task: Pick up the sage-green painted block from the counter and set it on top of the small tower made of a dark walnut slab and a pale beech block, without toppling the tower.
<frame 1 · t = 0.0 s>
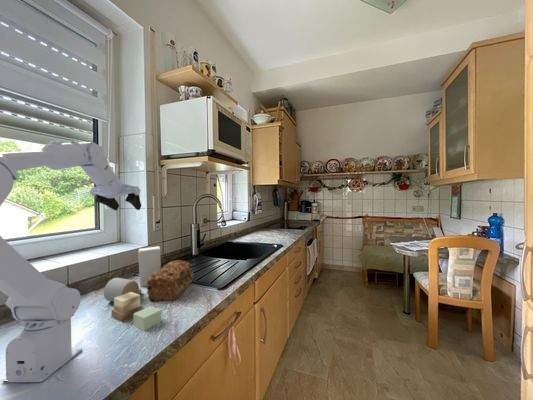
hand: (128, 207, 76), 32 cm above the table, tool tilted 50°, fingers open, 7 cm apart
walnut slab: (127, 316, 68), on the table, touching beech block
ceramic mug: (125, 299, 79), on the table
sage block: (147, 324, 63), on the table
skincare box: (150, 283, 94), on the table
bread: (172, 291, 86), on the table
beech block: (127, 307, 68), point 2 cm above the table, touching walnut slab
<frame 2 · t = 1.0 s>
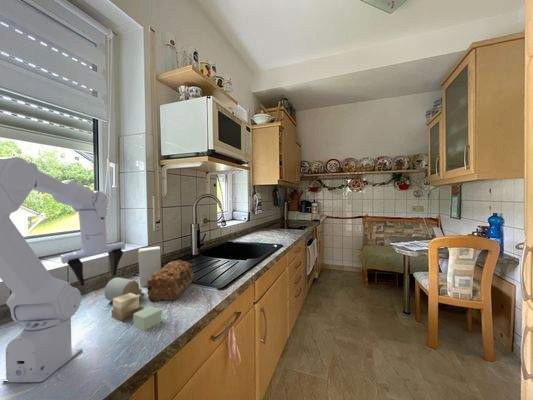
hand: (98, 279, 65), 12 cm above the table, tool pointing down, fingers open, 7 cm apart
nothing on the table moved.
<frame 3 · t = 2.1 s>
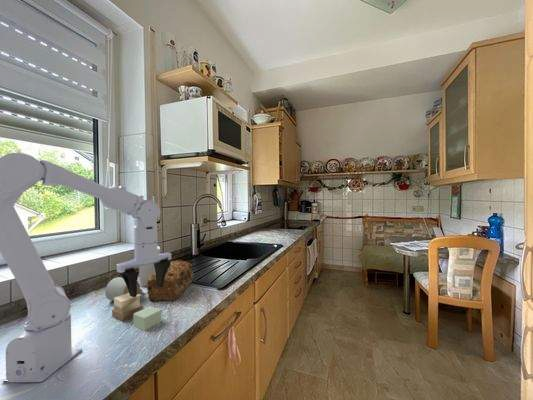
hand: (147, 290, 63), 9 cm above the table, tool pointing down, fingers open, 7 cm apart
nothing on the table moved.
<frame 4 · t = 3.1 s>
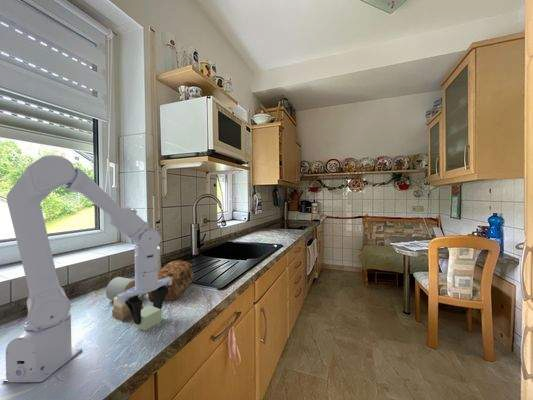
hand: (147, 318, 63), 1 cm above the table, tool pointing down, fingers closed on sage block, 5 cm apart
sage block: (147, 323, 63), on the table, touching gripper
everything else where it was.
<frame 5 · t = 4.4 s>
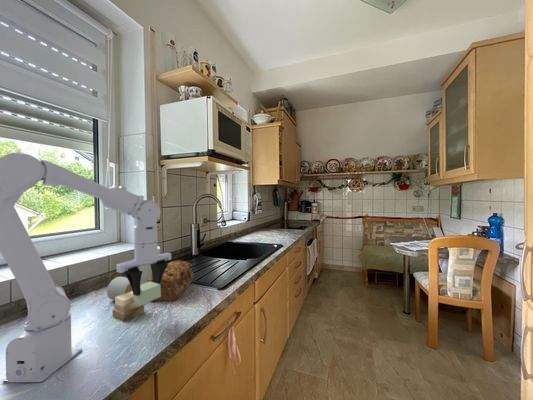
hand: (146, 291, 63), 9 cm above the table, tool pointing down, fingers closed on sage block, 5 cm apart
sage block: (147, 298, 63), point 7 cm above the table, touching gripper
when the fingers open (8 cm above the table, at t = 6.0 s): sage block stays where it is, resting on beech block.
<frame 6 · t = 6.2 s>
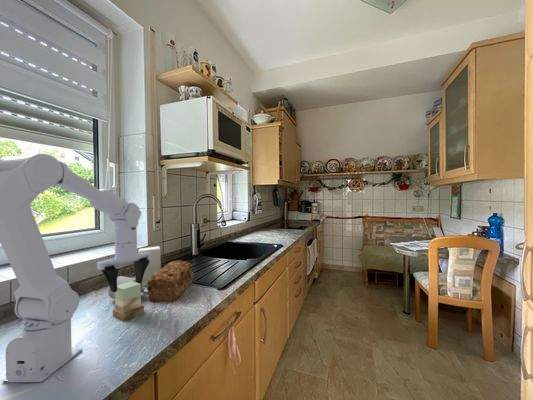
hand: (126, 287, 68), 8 cm above the table, tool pointing down, fingers open, 7 cm apart
sage block: (128, 296, 68), point 6 cm above the table, touching beech block
beech block: (128, 307, 68), point 2 cm above the table, touching sage block, walnut slab
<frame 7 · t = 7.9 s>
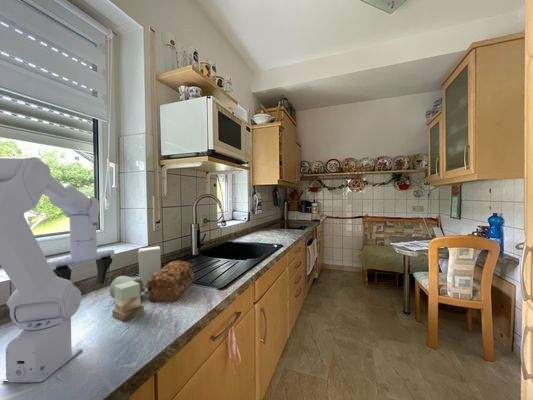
hand: (85, 288, 63), 10 cm above the table, tool pointing down, fingers open, 7 cm apart
walnut slab: (128, 316, 68), on the table
beech block: (128, 306, 69), point 2 cm above the table, touching sage block
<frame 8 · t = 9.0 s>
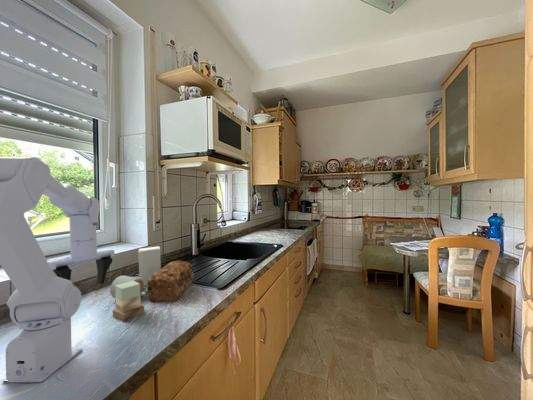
hand: (85, 288, 63), 10 cm above the table, tool pointing down, fingers open, 7 cm apart
sage block: (128, 296, 68), point 6 cm above the table
beech block: (128, 307, 69), point 2 cm above the table
at the end: sage block 0.2 cm off-centre on the walnut slab, point 6.0 cm above the walnut slab's base; beech block tilted 0°; sage block tilted 0° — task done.
